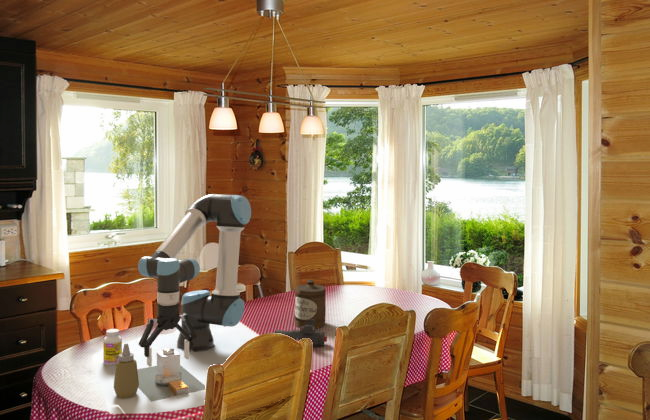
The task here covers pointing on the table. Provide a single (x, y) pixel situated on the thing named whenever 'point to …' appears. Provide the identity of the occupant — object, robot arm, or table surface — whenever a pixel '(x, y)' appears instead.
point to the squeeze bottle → (126, 375)
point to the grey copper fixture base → (172, 384)
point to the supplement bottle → (112, 346)
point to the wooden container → (310, 304)
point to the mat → (160, 392)
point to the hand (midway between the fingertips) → (168, 361)
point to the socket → (168, 363)
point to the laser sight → (307, 333)
